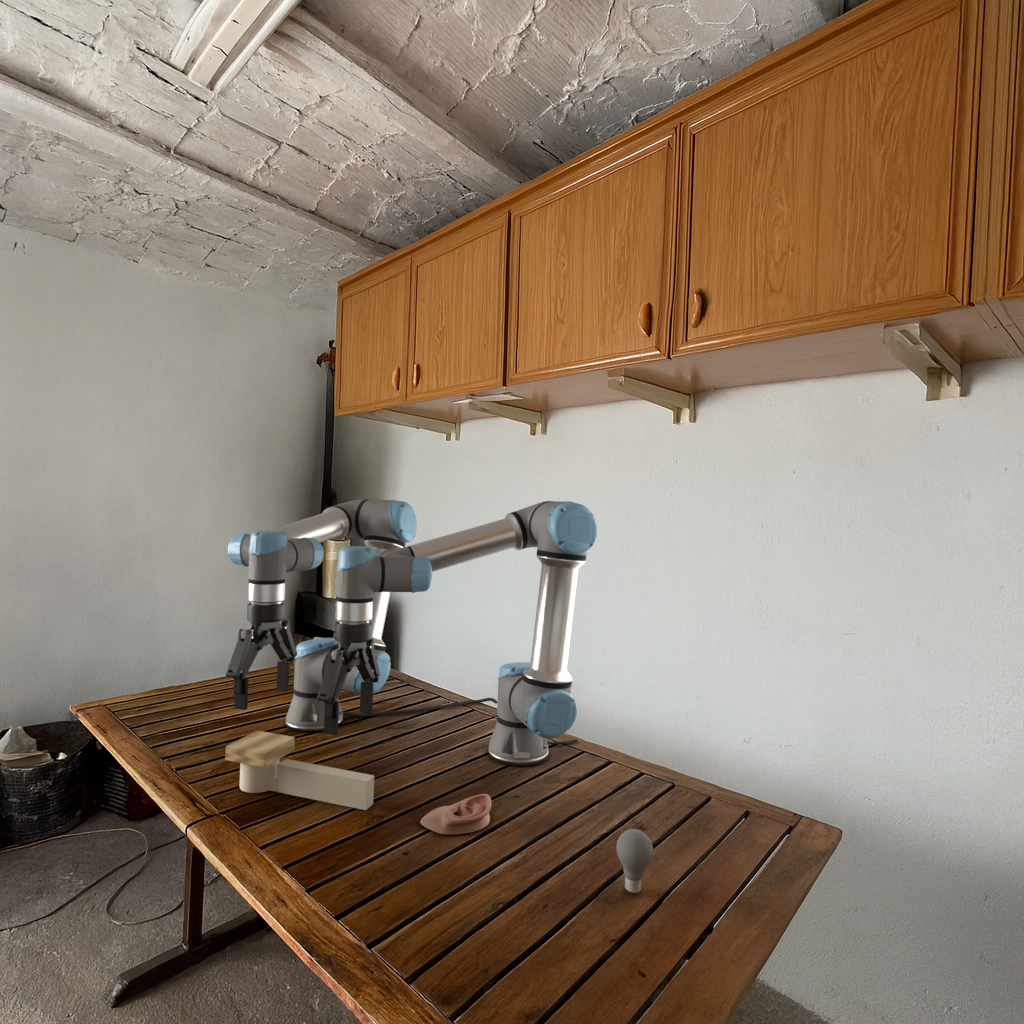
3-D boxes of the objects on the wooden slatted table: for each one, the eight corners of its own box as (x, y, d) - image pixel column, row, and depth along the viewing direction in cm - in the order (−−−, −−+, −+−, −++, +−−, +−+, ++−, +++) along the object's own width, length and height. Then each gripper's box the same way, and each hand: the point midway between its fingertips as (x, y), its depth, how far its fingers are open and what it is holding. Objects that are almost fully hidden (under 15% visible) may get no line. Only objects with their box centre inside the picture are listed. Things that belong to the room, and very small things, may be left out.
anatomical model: (415, 809, 122) (434, 784, 133) (414, 830, 122) (433, 802, 133) (482, 819, 119) (496, 792, 130) (481, 840, 119) (495, 811, 130)
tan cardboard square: (225, 760, 135) (225, 746, 135) (256, 743, 144) (257, 730, 144) (264, 767, 132) (265, 753, 132) (294, 750, 141) (294, 736, 141)
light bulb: (610, 879, 108) (613, 822, 108) (644, 879, 109) (647, 822, 109) (619, 902, 102) (622, 840, 102) (655, 901, 103) (658, 840, 103)
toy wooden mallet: (231, 789, 135) (232, 752, 135) (256, 774, 143) (257, 739, 143) (359, 816, 126) (361, 776, 126) (379, 798, 134) (380, 761, 134)
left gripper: (287, 593, 150) (284, 682, 151) (209, 609, 126) (205, 714, 127) (314, 596, 148) (311, 686, 149) (240, 612, 124) (236, 720, 125)
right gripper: (368, 610, 144) (364, 702, 145) (301, 629, 120) (296, 740, 121) (397, 613, 142) (393, 707, 142) (335, 634, 118) (331, 746, 119)
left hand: (262, 699), depth 138 cm, fingers open, 13 cm apart
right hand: (349, 722), depth 132 cm, fingers open, 13 cm apart
